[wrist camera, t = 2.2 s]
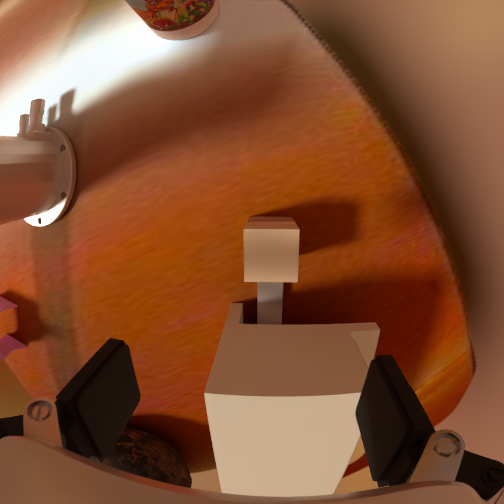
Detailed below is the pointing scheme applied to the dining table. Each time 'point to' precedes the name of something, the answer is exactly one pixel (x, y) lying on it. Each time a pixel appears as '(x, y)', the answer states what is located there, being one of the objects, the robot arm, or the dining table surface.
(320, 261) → the dining table surface
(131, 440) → the glass bottle
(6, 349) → the toy chair
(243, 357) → the white box on stand
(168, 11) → the milk bottle
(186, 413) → the dining table surface
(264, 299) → the tool
